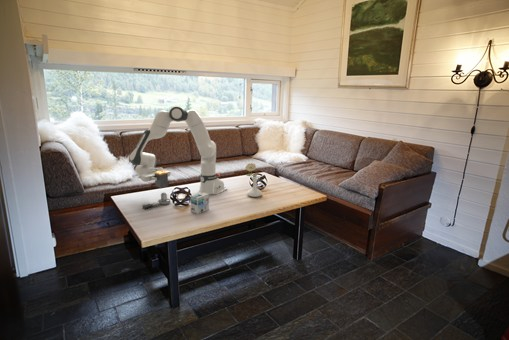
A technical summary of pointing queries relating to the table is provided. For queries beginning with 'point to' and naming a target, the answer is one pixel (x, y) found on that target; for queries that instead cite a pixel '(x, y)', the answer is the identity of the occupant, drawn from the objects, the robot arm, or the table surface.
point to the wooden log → (161, 179)
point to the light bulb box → (199, 202)
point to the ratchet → (160, 202)
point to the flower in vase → (254, 191)
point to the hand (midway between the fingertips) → (162, 177)
